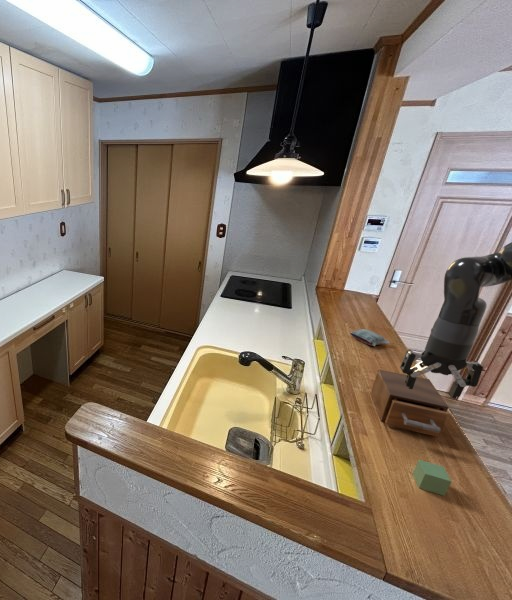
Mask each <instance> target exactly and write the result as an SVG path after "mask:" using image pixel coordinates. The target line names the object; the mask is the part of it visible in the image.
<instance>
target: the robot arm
mask: <svg viewBox="0 0 512 600" xmlns="http://www.w3.org/2000/svg"><path fill="white" fill-rule="evenodd" d="M511 281H512V241H511V242H509V243H507V244H505V246H503V247H502V249H500V250H498V251H496V252H494V253H493V252H492V253H490V254H486V255H480V256H465V257H460V258H458V259H456V260H454V261H453V262H452V263H451V264H450V265H449V266H448V267H447V269H446V271H445V273H444V278H443V302H442V305H441V308H440V310H439V312H438V315H437V318H436V319H435V321H434V322H433V325H432V327H431V329H430V334H429V336H428V339H427V342H426V345H425V347H424V350H423V352H422V353H419V352H415V351H413V350H412V349H408V350H406V352H405V354H404V357H403V359H402V361H401V364H400V366H399V368H400V370H401V372H402V374H405V375H407V377H406V380H405V384H406V386H407V387H408V389H413V386H414V384H415V381H416V377H420V376H421V375H425V374H427V373H429V372H430V373H432V374H441V375H444V376H449V375H451V376H452V377H453V379H454V380H455V381H452V384H451V386H450V388H449V391H448V396H449V397H450V398H452V399H457V398H459V397H461V395H462V392H463V390H464V388H465V387H472V388H475V387H477V386H478V384H479V381H480V377H481V375H482V372H483V370H484V366H482V364H481V363H480V362H478V361H477V360H471V361H467V359H468V357H469V355H470V352H471V350H472V348H473V346H474V344H475V340H476V338H477V337H478V333H479V328H480V326H481V322H482V320H483V318H484V315H485V314H486V310H487V302H486V301H485V300H484V299H483V298H481V297H480V290H481V288H488V287H494V286H497V285H498V286H499V285H502V284H505V283H508V282H511ZM419 359H420V360H421V361H419V362H417V360H419ZM414 362H417V363H416V364H415V365H414V366H413V363H414ZM465 368H467V369H468V371H467V374H466V377H465V378H463V377H462V375H461V374H460V372H459V371H460V370H462V369H465Z"/></svg>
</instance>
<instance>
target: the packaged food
mask: <svg viewBox="0 0 512 600" xmlns="http://www.w3.org/2000/svg"><path fill="white" fill-rule="evenodd" d="M349 334H350V335H351V336H352V337H353V339H355V340H357V341H360V342H362V343H364V344H365V345H367V346H373V347H376V346H379V345H385V344H388V345H391V343H390V341H389V340H388V339H385V336H382V335H380V334H378V333H377V332H374V331H372V330H369V329H365V328H361V329H358V330H355V331H350V332H349Z"/></svg>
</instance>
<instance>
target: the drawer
mask: <svg viewBox="0 0 512 600" xmlns="http://www.w3.org/2000/svg"><path fill="white" fill-rule="evenodd" d="M448 415H449V414H448V411H447V412H446V411H441V410H440V408H438V407H434V406H429V405H425V404H420V403H416V402H411V401H407V400H402V399H398V398H393V397H392V400H391V403H390V406H389V409H388V412H387V415H386V420H385V422H384V423H385V425H388V426H393V427H396V428H400V429H404V430H409V431H412V432H417V433H420V434H424V435H428V436H431V437H436V438H439V435H440V433H441V431H442V429H443V426H444V424H445V422H446V419H447V417H448Z"/></svg>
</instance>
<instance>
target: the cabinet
mask: <svg viewBox="0 0 512 600" xmlns="http://www.w3.org/2000/svg"><path fill="white" fill-rule="evenodd" d="M376 372H377V373H376V375H375V379H374V382H373V385H372V388H371V392H370V396H371V399H372V402H373V401H374V402H373V405H374V407H375V410H376V412H377V415H378V417H379V420H380V422H383V423H385V420H386V415H387V412H388V409H389V406H390V403H391V400H392V397H393V398H398V399H402V400H407V401H411V402H416V403H420V404H425V405H429V406H434V407H438V408H440V410H441V411H446V412H447V413H448V410H449V405H448V404H447V403H446V401H445V399H444V398H443V397H442V396H441V394H440V393H439V391H438V389H437V388H436V387H435V385H434V384H433V383H432V381H431V380H430V378H424V377H420V376H417V377H416V381H415V384H414V386H413V389H408V387H407V386H406V384H405V380H406V377H407V374H405V373H398V372H394V371H388V370H383V369H378V370H377V371H376Z"/></svg>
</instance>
